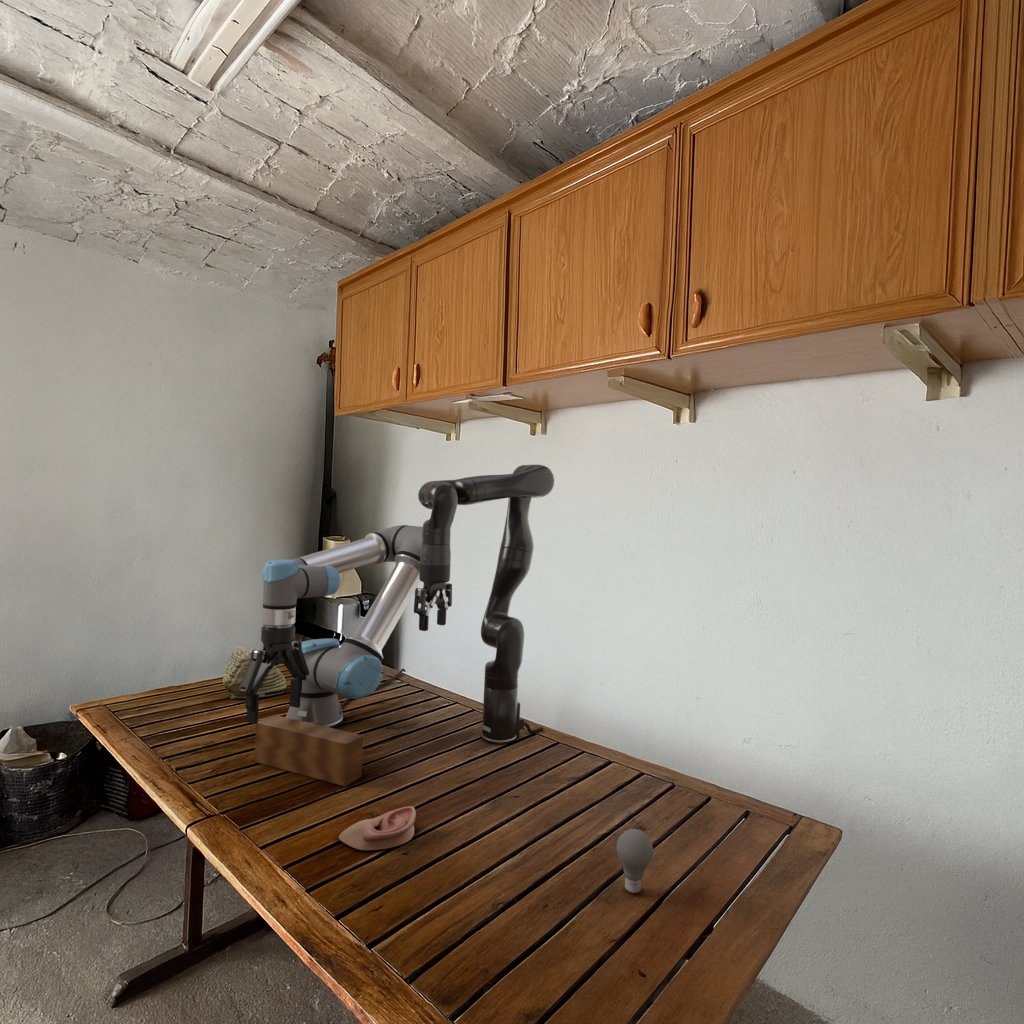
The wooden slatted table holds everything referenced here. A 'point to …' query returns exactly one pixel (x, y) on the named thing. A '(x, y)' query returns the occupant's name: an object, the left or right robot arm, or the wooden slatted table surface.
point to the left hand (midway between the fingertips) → (274, 714)
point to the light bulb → (634, 857)
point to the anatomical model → (381, 830)
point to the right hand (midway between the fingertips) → (432, 627)
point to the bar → (309, 749)
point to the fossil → (237, 670)
